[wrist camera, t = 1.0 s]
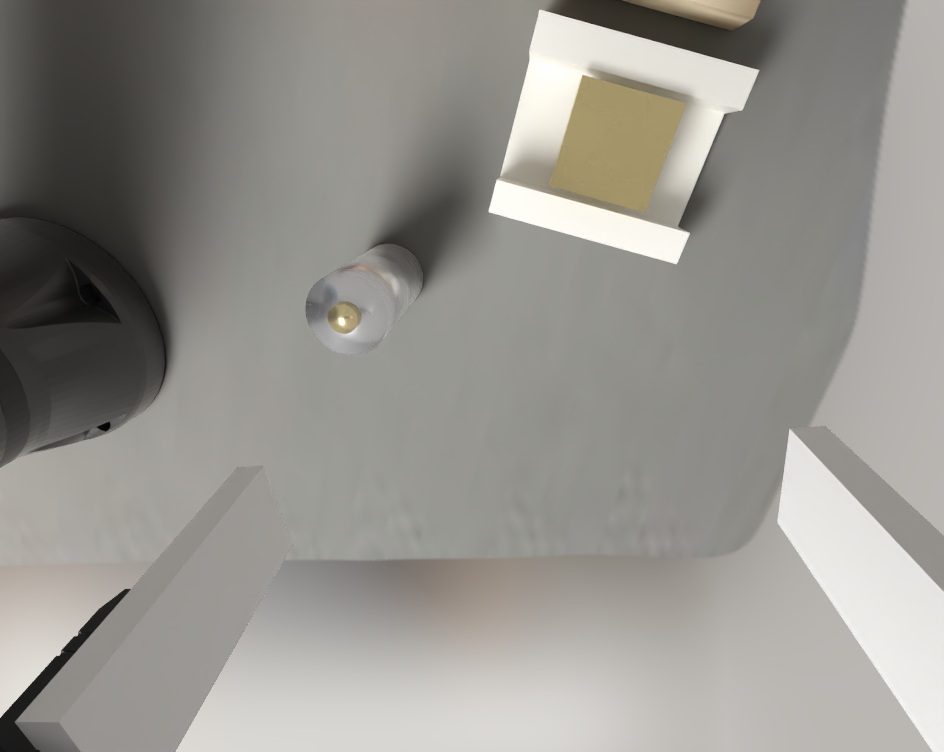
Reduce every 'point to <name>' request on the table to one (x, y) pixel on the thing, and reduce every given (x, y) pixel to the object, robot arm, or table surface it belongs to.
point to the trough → (707, 10)
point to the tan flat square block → (615, 143)
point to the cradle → (547, 112)
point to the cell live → (364, 299)
